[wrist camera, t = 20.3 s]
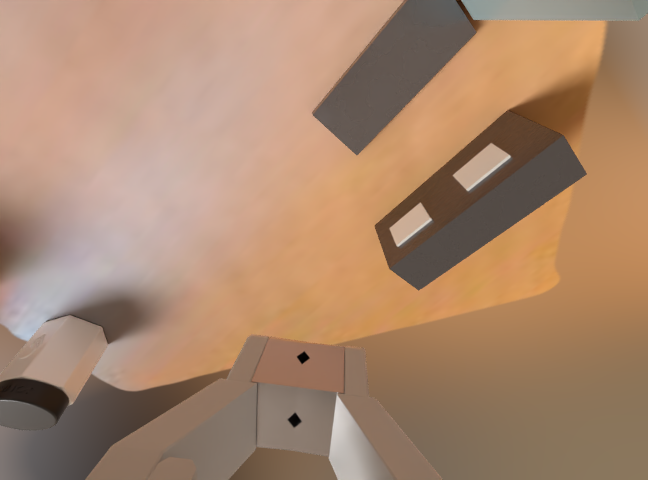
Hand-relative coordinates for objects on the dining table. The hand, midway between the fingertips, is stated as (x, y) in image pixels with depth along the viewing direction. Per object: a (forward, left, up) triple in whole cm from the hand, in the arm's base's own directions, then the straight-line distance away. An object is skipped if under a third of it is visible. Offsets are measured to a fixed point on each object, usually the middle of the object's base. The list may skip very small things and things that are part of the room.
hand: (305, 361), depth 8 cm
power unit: (+18, +5, -26) cm, 32 cm away
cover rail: (+4, +8, -26) cm, 28 cm away
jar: (-5, -47, -27) cm, 55 cm away
